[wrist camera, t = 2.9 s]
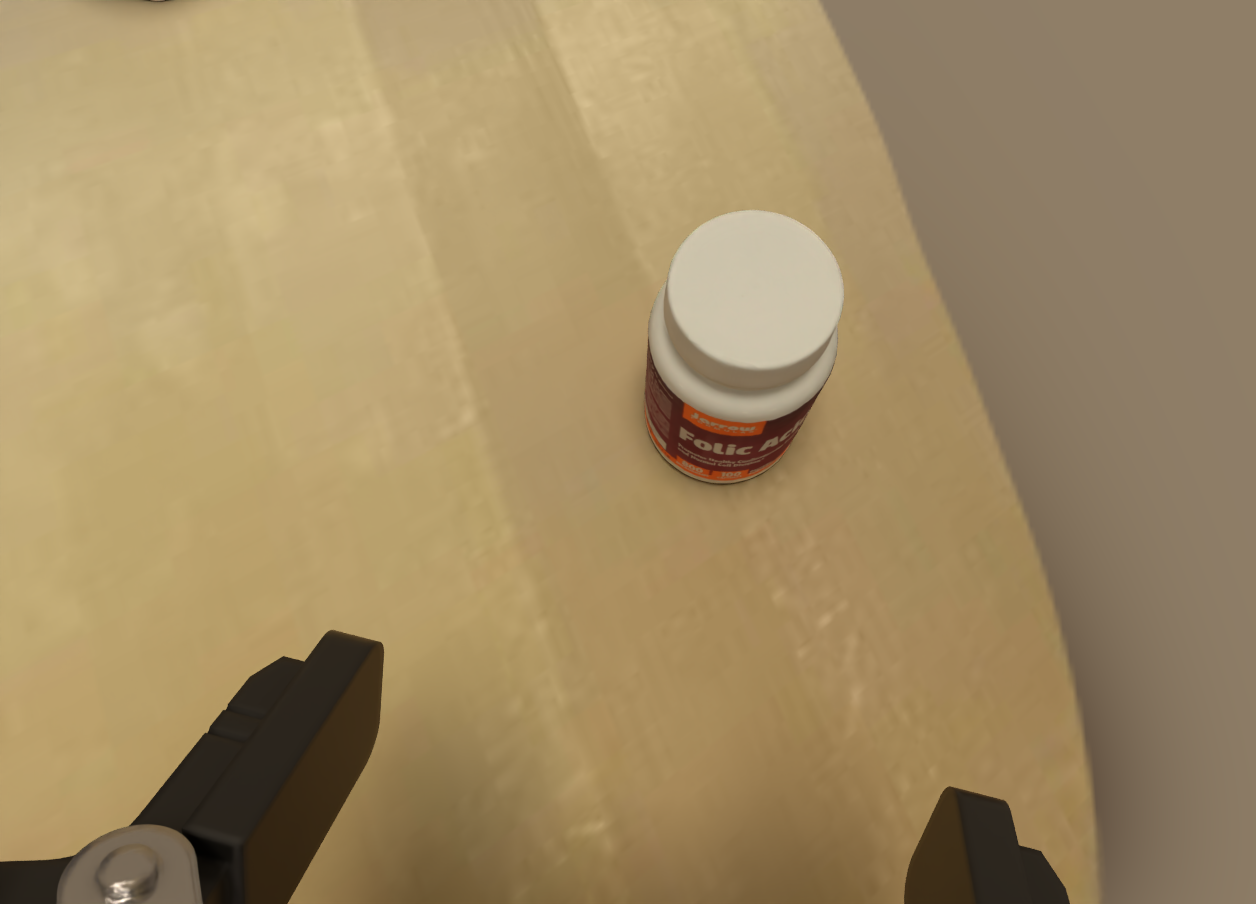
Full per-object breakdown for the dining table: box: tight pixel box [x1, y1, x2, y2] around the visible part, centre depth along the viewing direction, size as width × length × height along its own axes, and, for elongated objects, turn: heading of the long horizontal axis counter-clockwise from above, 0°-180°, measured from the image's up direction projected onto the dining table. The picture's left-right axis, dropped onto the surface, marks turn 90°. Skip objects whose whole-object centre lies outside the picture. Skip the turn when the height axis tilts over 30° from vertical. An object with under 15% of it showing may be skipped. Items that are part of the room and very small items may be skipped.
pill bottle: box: [644, 210, 844, 483], centre depth 25 cm, size 5×5×8 cm
